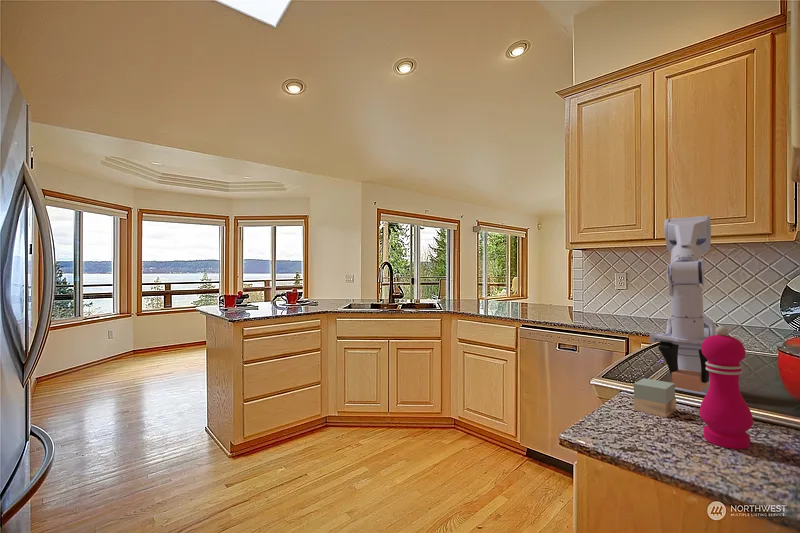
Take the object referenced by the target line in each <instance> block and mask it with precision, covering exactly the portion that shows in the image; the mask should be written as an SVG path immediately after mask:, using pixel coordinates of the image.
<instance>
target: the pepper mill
mask: <svg viewBox="0 0 800 533" xmlns="http://www.w3.org/2000/svg"><path fill="white" fill-rule="evenodd" d="M728 334H729V328H728V327H725V326H723V325H720V326H717V327H716V328H715V335H713V336H709V337H708V338H706V339H705V340H704V341H703V343H702V346H701V351H702V354H703V355H704V356H705V357H706V359H707V360H708V361H707V362H705V364H706V368H705V369H706V370H707V371H709V376H710V385H709V389H708V392H707V394H706V395H704V397H703V399H702V401H701V403H700V407H699V417H700V419H701V420H702V421H703V422H704V423H705V426H704V427H703V438H704V440H705V441H707V442H709V443H710V444H712V445H715V446H719V447H722V448H725V449H726V448H727V449H734V450H745V449H746V450H747V449H749V448H750V447H751V436H750V434H749V433H748V432H747V431H748V430H750V429H751V428H752V427H753V425H754V418H753V414H752V411H751V409H750V407H749V405H748V404H747V402H746V400H745V398H744V396H743V394H742V392H741V389H740V381H739V380H740V375H742V374H743V369H742V368H743V365H742V364H740V363H741V362H742V361H743V360H744V359H745V357H746V348H745V346H744V345H743V343H742V342H741V340H739V339H738V338H737V337H733V336H730V335H728Z"/></svg>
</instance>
